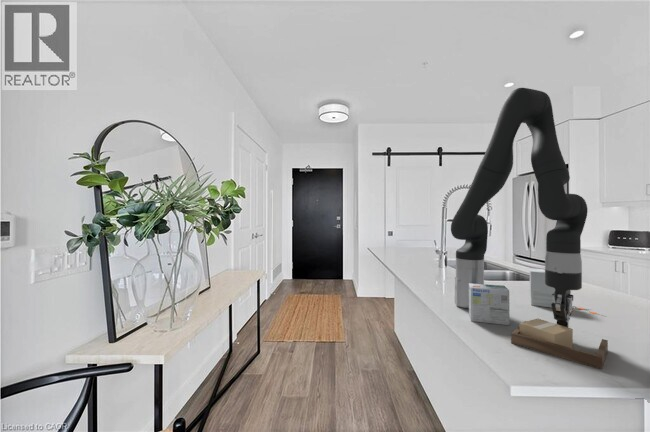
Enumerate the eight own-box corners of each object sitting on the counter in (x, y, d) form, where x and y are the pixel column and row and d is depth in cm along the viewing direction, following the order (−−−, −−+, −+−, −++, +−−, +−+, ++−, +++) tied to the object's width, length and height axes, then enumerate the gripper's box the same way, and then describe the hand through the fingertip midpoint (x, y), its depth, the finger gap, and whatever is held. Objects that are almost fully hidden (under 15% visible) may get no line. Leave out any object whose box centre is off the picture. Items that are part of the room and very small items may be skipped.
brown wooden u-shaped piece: (525, 329, 83) (525, 321, 83) (607, 350, 71) (607, 340, 71) (511, 343, 75) (511, 333, 75) (601, 369, 62) (601, 357, 62)
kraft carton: (537, 336, 80) (537, 318, 80) (572, 348, 72) (572, 328, 72) (519, 341, 76) (519, 322, 76) (554, 355, 69) (554, 334, 69)
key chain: (556, 310, 102) (556, 307, 102) (557, 305, 108) (557, 302, 108) (607, 318, 94) (607, 315, 94) (604, 312, 100) (604, 310, 100)
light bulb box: (504, 318, 93) (504, 284, 93) (510, 326, 86) (510, 290, 86) (467, 314, 96) (467, 282, 96) (470, 321, 90) (470, 287, 90)
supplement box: (553, 303, 109) (553, 269, 109) (555, 308, 102) (556, 273, 102) (529, 300, 113) (529, 267, 113) (530, 305, 106) (530, 270, 106)
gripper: (550, 264, 84) (550, 324, 84) (539, 270, 75) (538, 337, 75) (585, 268, 78) (585, 332, 78) (577, 274, 69) (577, 347, 69)
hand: (562, 334), depth 76 cm, fingers closed
